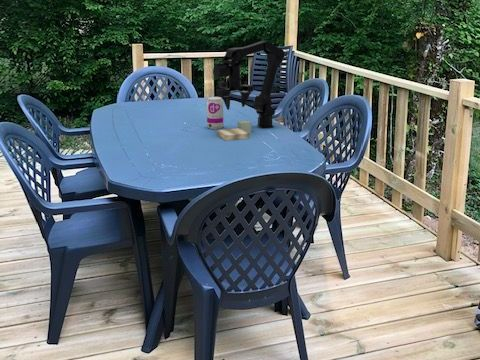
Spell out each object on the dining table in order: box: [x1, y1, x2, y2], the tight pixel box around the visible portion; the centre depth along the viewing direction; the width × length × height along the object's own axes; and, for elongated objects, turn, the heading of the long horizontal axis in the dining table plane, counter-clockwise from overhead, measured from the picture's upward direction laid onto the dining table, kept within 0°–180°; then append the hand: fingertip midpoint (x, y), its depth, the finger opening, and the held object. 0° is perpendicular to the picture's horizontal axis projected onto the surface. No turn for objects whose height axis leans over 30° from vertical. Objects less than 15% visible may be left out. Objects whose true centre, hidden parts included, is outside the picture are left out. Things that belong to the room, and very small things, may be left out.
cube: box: [237, 119, 252, 133], centre depth 278 cm, size 5×5×5 cm
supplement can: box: [206, 96, 224, 130], centre depth 285 cm, size 8×8×15 cm
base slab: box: [216, 127, 251, 142], centre depth 268 cm, size 12×12×3 cm
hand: (235, 108), depth 275 cm, fingers open, 9 cm apart
